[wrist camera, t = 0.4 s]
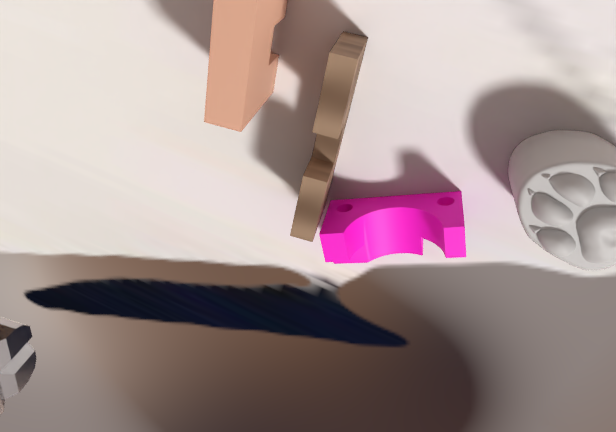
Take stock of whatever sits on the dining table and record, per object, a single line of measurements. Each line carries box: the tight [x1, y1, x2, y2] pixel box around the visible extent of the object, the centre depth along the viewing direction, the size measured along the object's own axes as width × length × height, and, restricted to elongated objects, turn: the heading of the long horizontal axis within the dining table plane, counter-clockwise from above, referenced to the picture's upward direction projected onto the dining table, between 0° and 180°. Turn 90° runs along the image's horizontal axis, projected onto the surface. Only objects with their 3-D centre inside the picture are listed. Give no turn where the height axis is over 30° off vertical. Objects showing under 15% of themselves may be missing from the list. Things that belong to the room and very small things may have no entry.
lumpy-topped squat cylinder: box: [508, 130, 616, 270], centre depth 49 cm, size 10×13×9 cm
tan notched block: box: [204, 0, 288, 132], centre depth 46 cm, size 4×12×11 cm, turn 169°
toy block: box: [319, 191, 466, 264], centre depth 56 cm, size 15×6×8 cm, turn 102°
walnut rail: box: [290, 31, 368, 242], centre depth 51 cm, size 20×2×8 cm, turn 169°
